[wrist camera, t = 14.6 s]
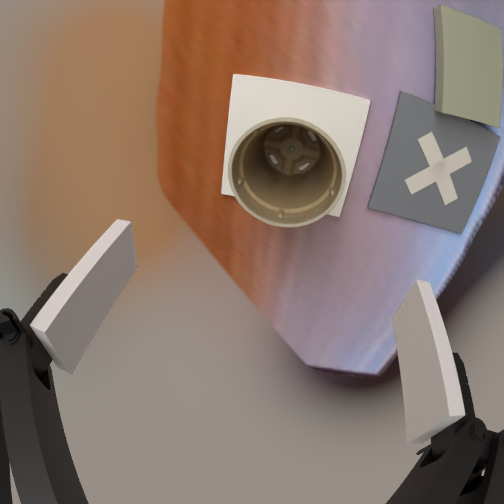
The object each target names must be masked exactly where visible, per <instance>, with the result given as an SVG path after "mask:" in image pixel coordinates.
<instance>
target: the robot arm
mask: <svg viewBox="0 0 504 504" xmlns="http://www.w3.org/2000/svg"><path fill="white" fill-rule="evenodd" d="M137 268H138V266H137V260H136V254H135V247H134V240H133V233H132V225H131V222H129V221H124V220H119V219H117V220H116V221H115V222H114V223H113V224H112V225H111V226H110V228H109V229H108V230H107V231H106V232H105V233H104V234H103V235H102V236H101V237H100V238H99V240H98V241H97V242H96V243H95V244H94V245H93V246H92V247H91V249H90V250H89V251H88V252H87V253H86V254H85V255H84V257H83V258H82V259H81V260H80V261H79V262H78V264H77V265H76V266H75V267H74V268H73V270H72V271H71V272H70V273H69V274H65V273H62V274H61V275H59V276H58V277H56V278H55V279H53V280H52V282H51V283H50V284H49V286H48V287H47V288H46V290H44V292H43V293H42V294H41V297H39V298H38V299H37V301H36V302H35V303H34V304H33V306H32V307H31V308H30V310H29V311H28V312H27V314H26V315H25V317H24V318H23V319H22V321H21V322H20V320H19V319H18V317H17V315H16V314H15V312H14V311H13V310H11V309H9V308H7V309H2V310H0V504H13V503H12V495H11V484H10V466H9V461H10V465H11V469H12V474H13V477H14V481H15V485H16V488H17V492H18V495H19V498H20V502H21V504H88V501H87V499H86V497H85V494H84V491H83V489H82V486H81V483H80V481H79V478H78V476H77V472H76V469H75V467H74V464H73V460H72V457H71V454H70V451H69V448H68V444H67V440H66V437H65V433H64V429H63V425H62V421H61V417H60V412H59V408H58V403H57V398H56V393H55V387H54V382H53V376H52V370H51V367H50V363H51V362H52V360H53V361H54V363H55V364H56V365H57V367H58V368H60V369H62V370H64V371H66V372H68V373H70V374H73V372H74V370H75V368H76V366H77V365H78V363H79V361H80V360H81V358H82V356H83V354H84V352H85V351H86V349H87V347H88V346H89V344H90V342H91V340H92V339H93V337H94V335H95V334H96V332H97V330H98V328H99V327H100V325H101V324H102V322H103V320H104V319H105V317H106V316H107V314H108V312H109V311H110V309H111V308H112V306H113V304H114V303H115V301H116V300H117V298H118V297H119V295H120V294H121V292H122V290H123V289H124V287H125V286H126V284H127V283H128V281H129V279H130V278H131V277H132V275H133V274H134V272H135V271H136V269H137ZM392 322H393V328H394V333H395V339H396V345H397V351H398V358H399V365H400V372H401V381H402V389H403V397H404V409H405V421H406V437H407V444H417V443H423V442H425V441H426V440H428V439H430V438H431V444H430V445H428V446H427V447H425V448H423V449H421V450H419V451H418V452H417V453H416V454H417V455H419V454H421V453H423V452H424V453H423V454H422V456H421V457H420V459H419V460H418V462H417V463H416V465H415V466H414V468H413V469H412V470H411V472H410V473H409V475H408V476H407V477H406V479H405V480H404V481H403V483H402V484H401V485H400V487H399V488H398V489H397V491H396V492H395V493H394V494H393V496H392V497H391V498H390V499H389V500H388V502H387V503H386V504H504V430H502V431H501V432H499V433H496V432H493V431H490V430H487V429H486V426H485V424H484V423H483V421H482V420H480V419H478V418H476V417H475V413H474V407H473V402H472V397H471V392H470V388H469V385H468V379H467V376H466V371H465V367H464V363H463V361H462V360H461V358H460V356H459V355H458V353H452V351H451V347H450V344H449V340H448V337H447V333H446V330H445V327H444V323H443V320H442V317H441V314H440V311H439V308H438V305H437V302H436V299H435V296H434V293H433V291H432V288H431V285H430V282H425V281H420V280H416V281H415V283H414V285H413V286H412V288H411V290H410V291H409V293H408V295H407V296H406V298H405V300H404V301H403V303H402V304H401V306H400V308H399V309H398V311H397V312H396V314H395V316H394V317H393V319H392ZM483 470H485V473H484V476H481V474H482V471H483Z"/></svg>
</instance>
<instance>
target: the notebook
mask: <svg viewBox="0 0 504 504" xmlns="http://www.w3.org/2000/svg"><path fill="white" fill-rule="evenodd" d="M433 11H434V23H435V42H436V88H435V108H434V110H436V111H439V112H442V113H446V114H450V115H455V116H459V117H463V118H466V119H470V120H474V121H477V122H481V123H484V124H488V125H491V126H494V127H497V128H500V118H501V106H502V88H503V53H502V35H501V28H499V27H497V26H494V25H492V24H490V23H488V22H486V21H483V20H481V19H478V18H476V17H474V16H471V15H468V14H466V13H463V12H461V11H458V10H455V9H452V8H449V7H446V6H443V5H439V6H436V7H434V8H433Z"/></svg>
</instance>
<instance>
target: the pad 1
mask: <svg viewBox="0 0 504 504" xmlns="http://www.w3.org/2000/svg"><path fill="white" fill-rule="evenodd" d="M370 101H371V100H368V99H365V98H361V97H358V96H354V95H350V94H347V93H343V92H339V91H334V90H330V89H326V88H321V87H317V86H312V85H307V84H302V83H296V82H291V81H285V80H279V79H272V78H265V77H258V76H250V75H241V74H233V80H232V89H231V98H230V107H229V116H228V126H227V136H226V146H225V157H224V168H223V180H222V192H221V194H225V195H231V196H234V194H233V192H232V190H231V187H230V184H229V179H228V162H229V157H230V154H231V151H232V149H233V147H234V145H235V143H236V142H237V141H238V139H239V138H240V137H241V136H242V135H243V134H244V133H245V132H246V131H247V130H248V129H250V128H251V127H253V126H254V125H256V124H258V123H260V122H263V121H265V120H269V119H273V118H281V117H288V118H297V119H301V120H304V121H307V122H309V123H312V124H313V125H315V126H317V127H319V128H320V129H321V130H323V131H324V132H325V133H326V134H328V135H329V136H330V138H331V139H332V140H333V141H334V142H335V144H336V145H337V147H338V148H339V150H340V152H341V154H342V157H343V160H344V163H345V169H346V182H345V187H344V191H343V194H342V196H341V198H340V199H339V201H338V203H337V204H336V206H335V207H334V208H333V209H332V210H331V211H330V212H329V213H328V214H327V215H332V216H336V217H340V214H341V210H342V207H343V204H344V200H345V197H346V194H347V190H348V187H349V183H350V180H351V176H352V173H353V169H354V165H355V162H356V158H357V154H358V150H359V147H360V143H361V139H362V135H363V131H364V127H365V123H366V119H367V114H368V110H369V106H370ZM282 129H284V127H281V128H279V129H277V130H276V131H275V133H277V132H281V130H282ZM307 133H308V135H309V136H310V137H311V139H312V140H313V142H315V141H316V138H315V136H314V134H313V133H312V132H311V131H308V132H307ZM293 150H294V148H293V147H291V148H290V151H293ZM270 158H271V160H272V162H273V163H274V164H277V163H278V161H277V160H276V158H275V157H274V155H273V154H271V155H270ZM308 165H309V163H306V164H305V165H303V166H300V167H299V170H303V169H304V168H306V167H307V166H308Z"/></svg>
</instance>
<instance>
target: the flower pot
mask: <svg viewBox="0 0 504 504" xmlns="http://www.w3.org/2000/svg"><path fill="white" fill-rule="evenodd" d="M281 127H284V129H282V130H281V132H277V133H275V131H276V130H277V129H279V128H281ZM308 131H311V132H312V133H313V134H314V136H315V138H316V141H315V142H313V140H312V139H311V137H310V136H309V135H308V133H307V132H308ZM291 147H293V148H294V150H293V151H290V148H291ZM271 154H273V155H274V157H275V158H276V160H277V161H278V163H277V164H274V163H273V162H272V160H271V158H270V155H271ZM306 163H309V165H308V166H307V167H306V168H304V169H303V170H299V167H300V166H303V165H305V164H306ZM228 179H229V184H230V187H231V190H232V192H233V194H234V196H235V198H236V199H237V201H238V202H239V204H240V205H241V206H242V207H243V208H244V209H245V210H246V211H247V212H248V213H249V214H251V215H252V216H253V217H255V218H257V219H259V220H261V221H262V222H264V223H267V224H269V225H273V226H277V227H286V228H289V227H301V226H304V225H309V224H311V223H313V222H316V221H318V220H319V219H321V218H323V217H324V216H325V215H327V214H328V213H329V212H330V211H331V210H332V209H333V208H334V207H335V206H336V204H337V203H338V201H339V199H340V198H341V196H342V194H343V191H344V187H345V182H346V169H345V163H344V160H343V157H342V154H341V152H340V150H339V148H338V147H337V145H336V144H335V142H334V141H333V140H332V139H331V138H330V136H329V135H328V134H326V133H325V132H324V131H323V130H321V129H320V128H319V127H317V126H315V125H313V124H312V123H309V122H307V121H304V120H301V119H297V118H288V117H281V118H273V119H269V120H265V121H263V122H260V123H258V124H256V125H254V126H253V127H251V128H250V129H248V130H247V131H246V132H245V133H244V134H243V135H242V136H241V137H240V138H239V139H238V141H237V142H236V143H235V145H234V147H233V149H232V151H231V154H230V157H229V162H228Z"/></svg>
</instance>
